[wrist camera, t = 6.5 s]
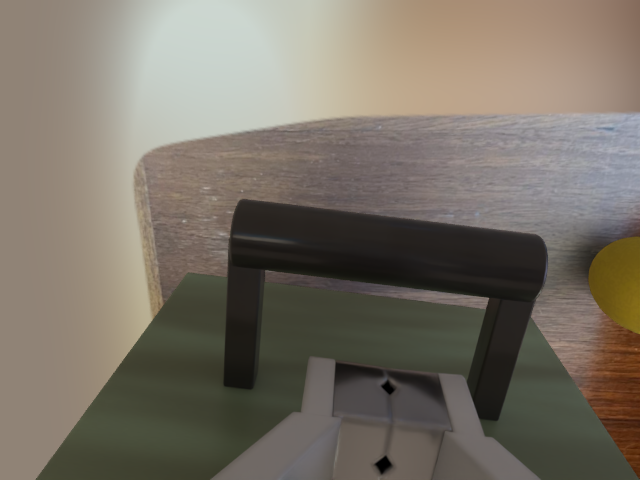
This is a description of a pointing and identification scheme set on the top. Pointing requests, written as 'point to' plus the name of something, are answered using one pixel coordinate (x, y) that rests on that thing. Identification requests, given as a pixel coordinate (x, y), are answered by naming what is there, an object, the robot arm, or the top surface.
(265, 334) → the drawer
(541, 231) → the top surface
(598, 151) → the top surface
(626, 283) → the lemon
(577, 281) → the top surface
